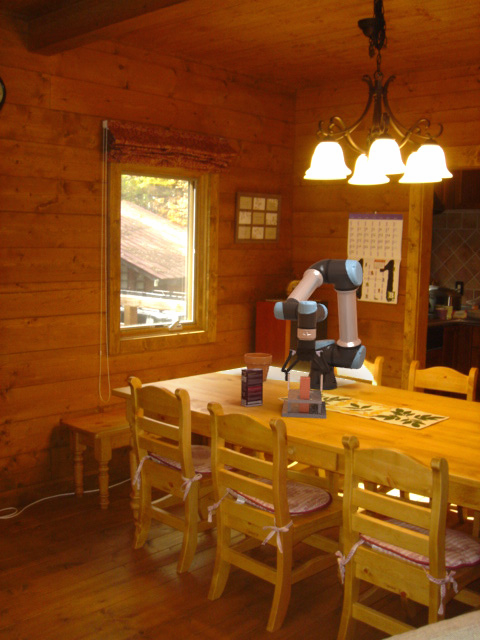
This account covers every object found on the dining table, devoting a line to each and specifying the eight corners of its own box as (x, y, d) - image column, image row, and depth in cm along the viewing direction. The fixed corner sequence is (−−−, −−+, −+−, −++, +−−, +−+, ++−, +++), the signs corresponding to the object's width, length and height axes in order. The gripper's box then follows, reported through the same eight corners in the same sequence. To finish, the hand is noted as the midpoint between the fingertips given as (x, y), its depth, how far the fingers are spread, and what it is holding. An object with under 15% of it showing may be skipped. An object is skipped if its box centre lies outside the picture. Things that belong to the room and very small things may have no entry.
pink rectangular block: (299, 411, 300) (300, 378, 299) (299, 409, 304) (300, 376, 303) (308, 411, 300) (310, 378, 298) (308, 409, 304) (310, 376, 302)
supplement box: (256, 403, 320) (257, 367, 319) (262, 405, 316) (263, 369, 314) (240, 405, 316) (240, 369, 314) (245, 407, 312) (246, 370, 310)
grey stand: (281, 416, 297) (282, 385, 296) (283, 403, 321) (284, 374, 319) (326, 418, 296) (327, 387, 294) (325, 405, 319) (326, 376, 318)
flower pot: (245, 376, 380) (246, 352, 379) (272, 378, 378) (273, 353, 377) (241, 382, 366) (242, 356, 365) (270, 383, 364) (270, 357, 363)
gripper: (275, 338, 296) (274, 390, 298) (337, 341, 294) (335, 392, 296) (276, 336, 304) (275, 386, 306) (336, 338, 301) (334, 389, 304)
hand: (304, 389), depth 301 cm, fingers open, 13 cm apart
